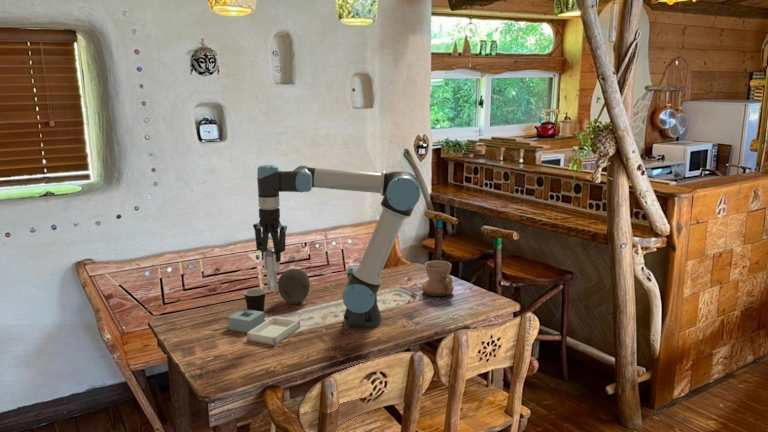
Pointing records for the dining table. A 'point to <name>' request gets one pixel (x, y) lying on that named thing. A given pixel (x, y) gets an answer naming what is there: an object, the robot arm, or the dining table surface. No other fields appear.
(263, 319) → the block
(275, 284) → the pin
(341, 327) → the dining table surface
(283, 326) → the tray
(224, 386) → the dining table surface
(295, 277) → the cantaloupe
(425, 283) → the ceramic jug
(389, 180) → the robot arm
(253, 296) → the coffee mug
